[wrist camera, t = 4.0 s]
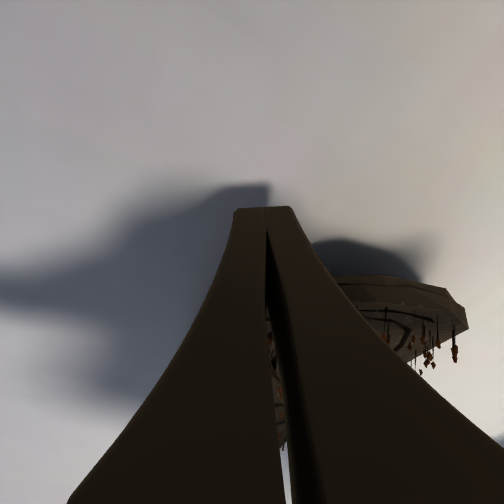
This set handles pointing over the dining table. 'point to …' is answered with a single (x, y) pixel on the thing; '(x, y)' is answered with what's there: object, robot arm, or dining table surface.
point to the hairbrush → (390, 322)
